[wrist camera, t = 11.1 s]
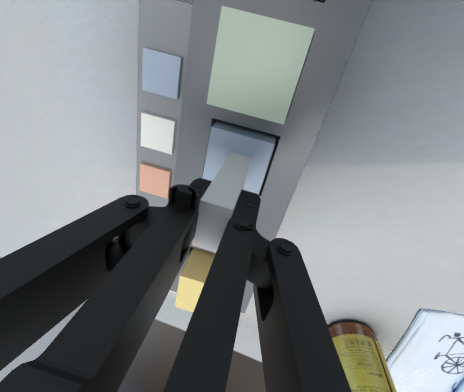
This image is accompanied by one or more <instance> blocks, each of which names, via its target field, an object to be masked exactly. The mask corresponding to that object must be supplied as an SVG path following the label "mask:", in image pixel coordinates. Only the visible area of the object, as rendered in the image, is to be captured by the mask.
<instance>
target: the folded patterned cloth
mask: <svg viewBox="0 0 464 392" xmlns="http://www.w3.org/2000/svg"><path fill="white" fill-rule="evenodd" d="M386 363H387V366H388V369H389V372H390V374H391V377H392V380H393V383H394V385H395V388H396V391H397V392H464V373H463V368H464V315H460V314H455V313H450V312H444V311H439V310H430V309H420V311H419V312H418V314H417V315H416V317H415V319H414V320H413V322H412V324H411V325H410V327H409V329H408V330H407V332H406V333H405V335H404V336H403V338H402V339H401V341H400V342H399V344H398V345H397V347H396V348H395V349H394V351H393V352H392V353H391V355H390V356H389V358H388V360H387V361H386Z"/></svg>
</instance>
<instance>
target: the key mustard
mask: <svg viewBox="0 0 464 392" xmlns="http://www.w3.org/2000/svg"><path fill="white" fill-rule="evenodd" d="M214 257H215V254H214V253H210V252H207V251H204V250H201V249H197V248H194V247H193V249H192V251H191V253H190V255H189V258H188V260H187V262H186V264H185V266H184V268H183V270H182V272H181V274H180V277H179V283H178V290H177V296H176V303H175V307H178V308H181V309H184V310H187V311H191V312H194V309H195V307H196V304H197V301H198V299H199V296H200V294H201V291H202V288H203V286H204V283H205V280H206V278H207V275H208V273H209V270H210V267H211V265H212V262H213V259H214Z"/></svg>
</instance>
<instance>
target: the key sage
mask: <svg viewBox="0 0 464 392" xmlns="http://www.w3.org/2000/svg"><path fill="white" fill-rule="evenodd" d="M314 31H315V29H314V28H310V27H306V26H302V25H298V24H294V23H290V22H286V21H282V20H278V19H274V18H270V17H266V16H262V15H258V14H254V13H250V12H246V11H242V10H238V9H234V8H229V7H225V6H222V7H221V14H220V20H219V27H218V33H217V39H216V46H215V52H214V59H213V65H212V72H211V78H210V84H209V91H208V97H207V104H209V105H213V106H217V107H220V108H224V109H228V110H231V111H235V112H239V113H243V114H246V115H250V116H254V117H257V118H261V119H265V120H268V121H272V122H276V123H280V124H283V125H284V122H285V119H286V116H287V113H288V110H289V107H290V104H291V101H292V98H293V95H294V92H295V89H296V86H297V82H298V79H299V76H300V73H301V70H302V67H303V64H304V61H305V58H306V55H307V52H308V49H309V46H310V43H311V40H312V37H313V34H314Z"/></svg>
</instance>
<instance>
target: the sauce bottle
mask: <svg viewBox="0 0 464 392" xmlns="http://www.w3.org/2000/svg"><path fill="white" fill-rule="evenodd" d="M328 329H329V332H330V334H331V337H332V340H333V342H334V345H335V348H336V350H337V353H338V356H339V358H340V361H341V364H342V367H343V369H344V372H345V375H346V377H347V380H348V383H349V385H350V388H351V391H352V392H397V391H396V388H395V385H394V383H393V380H392V377H391V374H390V372H389V369H388V366H387V363H386V361H385V358H384V355H383V352H382V350H381V347H380V344H379V343H378V341H377V339H376V337H375V335H374V333H373V332H372V330H370V329H369V327H367V326H365V325H363V324H361V323H356V322H339V323H337V324H334V325H332V326H330V327H329V328H328Z"/></svg>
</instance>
